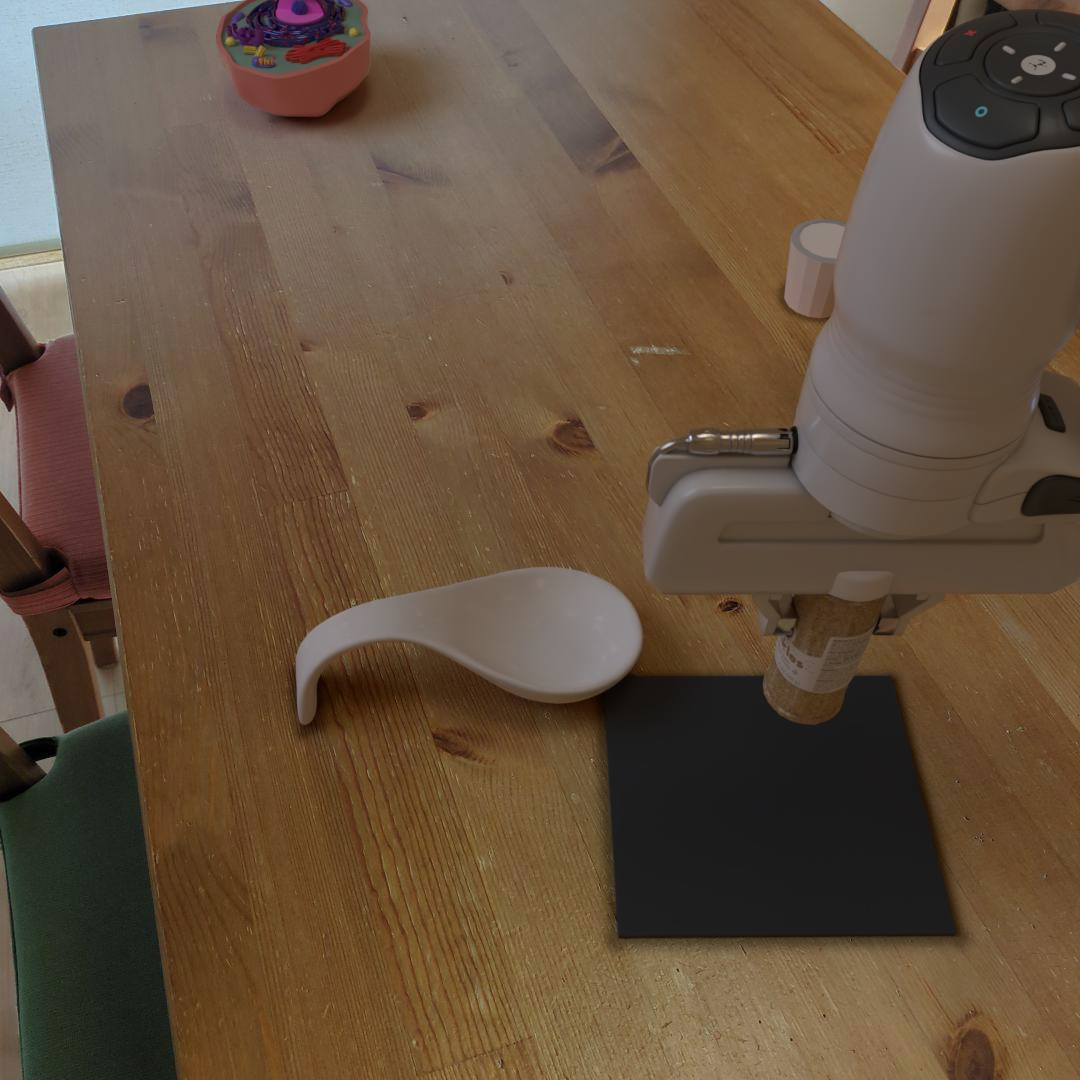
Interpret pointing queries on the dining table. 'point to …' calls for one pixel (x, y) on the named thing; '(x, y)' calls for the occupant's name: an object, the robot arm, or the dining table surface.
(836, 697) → the sprinkles bottle
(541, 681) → the spoon rest
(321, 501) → the dining table surface
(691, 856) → the mat
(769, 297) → the dining table surface
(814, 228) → the white short cylinder
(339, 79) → the cell model
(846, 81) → the dining table surface
